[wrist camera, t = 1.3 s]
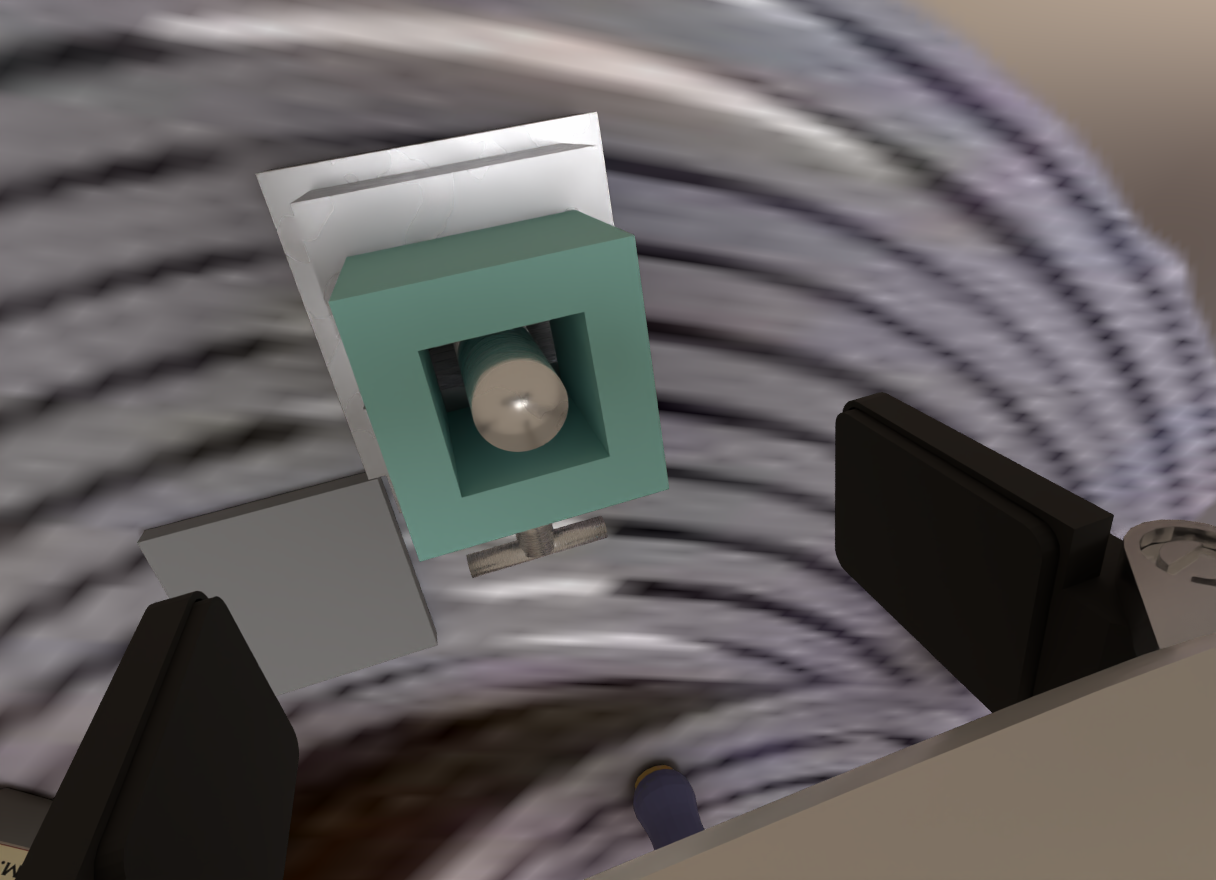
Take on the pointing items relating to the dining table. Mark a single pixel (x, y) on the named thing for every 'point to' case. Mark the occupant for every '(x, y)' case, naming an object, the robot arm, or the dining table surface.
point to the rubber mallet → (666, 806)
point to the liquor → (18, 828)
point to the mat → (303, 579)
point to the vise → (433, 208)
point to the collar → (488, 303)
